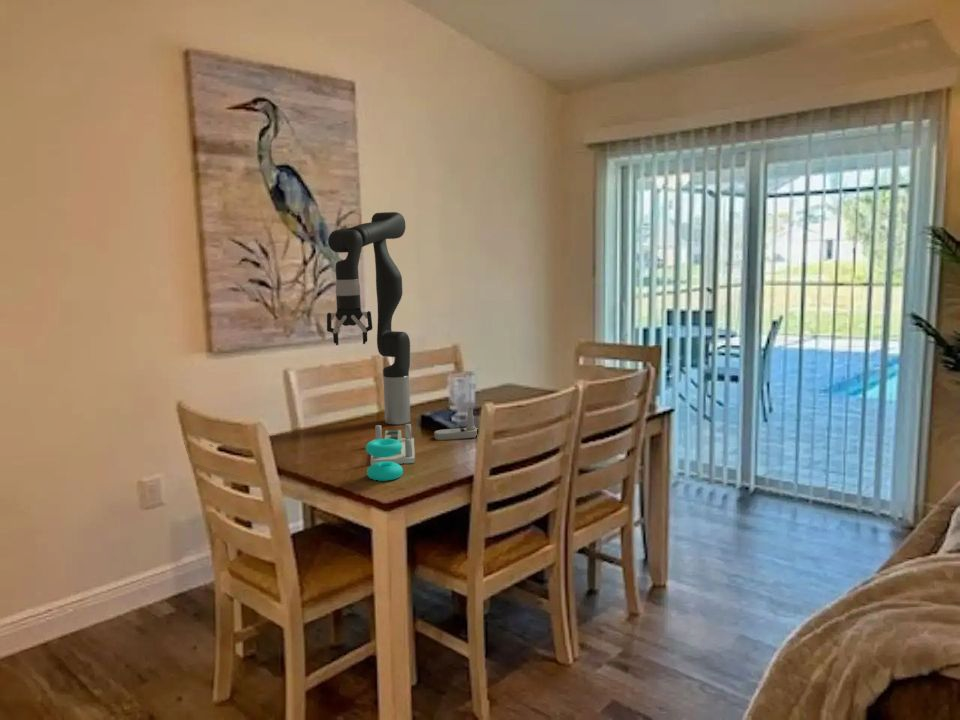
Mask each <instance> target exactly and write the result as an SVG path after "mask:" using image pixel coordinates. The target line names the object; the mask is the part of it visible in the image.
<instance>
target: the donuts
mask: <svg viewBox="0 0 960 720" xmlns="http://www.w3.org/2000/svg"><path fill="white" fill-rule="evenodd" d="M401 449H402V444H401V442H400V441H398V440H395V439H385V438H382V439H377V440H375V439H373V440H370V441H369V442H368V443H366V446H365V451H366V453H367V454H369V455H370V456H371V455H372V456H375V457H390V456H394V455H396V454H398V453H399V452H400V451H401ZM403 469H404V468H403V467H402V465H400V464H397V463H395V462H378V463H375V464H373V465H371V464H370V466H368V468H367V470H366V474H367V477H368V479H370V480H372V479H373V481H376V480H378V482H388V480H389V481H393V480H397V479H398V478H400V477H401V476H402V475H403V473H404V470H403Z"/></svg>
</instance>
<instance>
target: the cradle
mask: <svg viewBox="0 0 960 720" xmlns="http://www.w3.org/2000/svg"><path fill="white" fill-rule="evenodd" d="M374 426H375V427H374V430H375V431H374V432H375V433H374V434H375V439H374V440H377V439H383V434H382V433H383V432H382V431H383V430H382V425H380V424H377V425H374ZM404 435H405V436H404V437H401V438H402V449H401V454H396V455H394V456H390V457H375V456H372V455H370V466H371V465H373V464H375V463H378V462H395V463H397V464H399V465H400V464H403V463H404V464H415V463H416V454H415V452H416V451H415V438H414V437H412V424H411V423H405V424H404Z"/></svg>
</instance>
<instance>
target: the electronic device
mask: <svg viewBox="0 0 960 720" xmlns="http://www.w3.org/2000/svg"><path fill="white" fill-rule="evenodd" d="M474 419H475V418H474V410H473V408H472V407H469V408H468V407H467V426H466V427H461V428H446V429H439V430H435V431H434V432H433V433H434V439H435V440H437V441H438V440H439V441H445V440H446V441H447V440H461V439H473V438H477V437H476V435H477V429H479V428H478V427H476V426H475V423H474V422H475V421H474Z"/></svg>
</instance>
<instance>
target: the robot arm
mask: <svg viewBox="0 0 960 720" xmlns="http://www.w3.org/2000/svg"><path fill="white" fill-rule="evenodd" d="M405 231H406V221H405V217H404V216H403V215H402V214H401V213H399V212H397V211H391V212H390V211H389V212H376V213H375V212H374V213H373V215H372V217H371V222H363V223H361V224H358V225H354V226H352V227H346V228H340V229H338V228H337V229H335V230H333V231H331V232H330V234H329V236H328V239H327V243H328V247H329V249H330V250H331V251H332V252H334V253H341V254H342V253H347V255H346V257H345V259H341V260H338V261H336V263H335V297H336V300H335V301H336V312H327V314H326V331H327V332H329V333H332V336H333V344H335V346H339V332H338V331H339V330H340V328H341V327H342V325H343V326H345V327H348V326H356V325H357V326H358V327H359V329H360V330H361V331H362V345H366V343H367V342H368V332H369V331H372V330H373V321H372V318H373V317H372V311H370V310H369V311H362V306H361V304H362V303H361V288H360V287H361V286H360V279H359V262H360V259H361V257H360V256H361V253H362V249H363V247H366V246H370V245H371V244H373V245H372V246H373V251H374V252H373V253H374V263H375V264H374V265H375V287H376V289H375V290H376V301H377V325H376V326H377V330H376V332H377V333H376V346H377V347H376V348H377V351H378V353H379V355H380V356H382V357H386V358H387V357H388V358H394V362H393V363H391V365H388V366H385V367H384V368H382V369H383V370H382V376H383V381H382V382H383V401H384V402H383V403H384V423H385V424H388V425H405V424H409V423H411V403H410V402H411V399H410V398H411V397H410V396H411V395H410V375H409V373H410V372H409V371H410V366H411V364H410V363H411V341H410V337H409V334H408V333H407V332H405V331H394V330H393V331H392V321H393V320H392V319H393V316H394V314H395V311H396V309H397V307H398V306H399V304H400V302H401V300H402V297H403V276H402V273H401V272H400V270H399V268H398V266H397V265H396V264H395V262H394V260H393V259H392V256H390V253H389V249H388V246H387V240H395V239H400V238H402V236H403V235H404V234H405ZM362 317H364V318H365V319H367V325H368V326H365V325H364V323H363V322H362V321H361V319H362ZM334 318H336V319H337V320H338V323H337V324H336V326H335V327H334V328H333V327H332V320H334Z"/></svg>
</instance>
